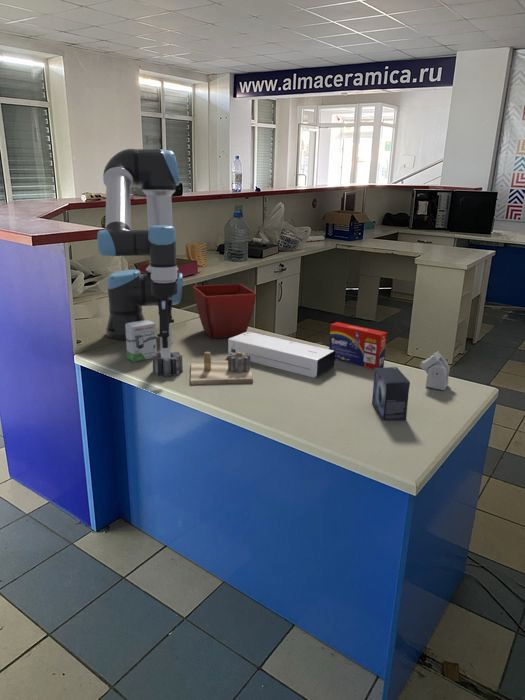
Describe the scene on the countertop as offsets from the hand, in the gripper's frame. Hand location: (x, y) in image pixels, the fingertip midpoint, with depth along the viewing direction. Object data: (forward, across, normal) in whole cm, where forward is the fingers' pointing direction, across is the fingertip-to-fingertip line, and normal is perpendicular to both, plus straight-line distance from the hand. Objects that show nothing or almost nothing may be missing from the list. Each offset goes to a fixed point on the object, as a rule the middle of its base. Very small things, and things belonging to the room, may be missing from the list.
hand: (167, 350), depth 159 cm
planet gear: (+7, 0, 0) cm, 7 cm away
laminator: (+7, -7, +35) cm, 36 cm away
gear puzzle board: (+7, +2, +16) cm, 18 cm away
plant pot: (+6, -40, +19) cm, 44 cm away
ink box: (+7, -14, -9) cm, 18 cm away
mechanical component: (+7, +16, +77) cm, 79 cm away
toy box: (+7, -4, +60) cm, 60 cm away
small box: (+8, +32, +58) cm, 67 cm away
